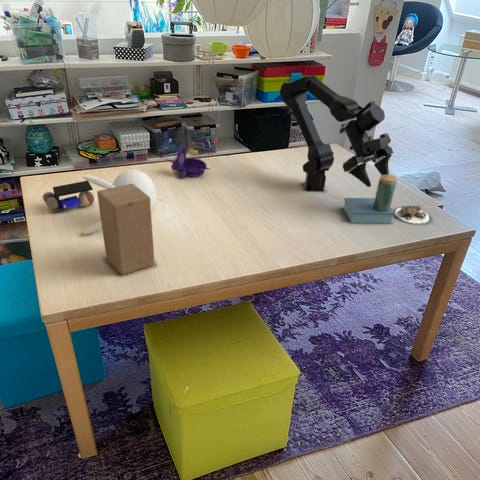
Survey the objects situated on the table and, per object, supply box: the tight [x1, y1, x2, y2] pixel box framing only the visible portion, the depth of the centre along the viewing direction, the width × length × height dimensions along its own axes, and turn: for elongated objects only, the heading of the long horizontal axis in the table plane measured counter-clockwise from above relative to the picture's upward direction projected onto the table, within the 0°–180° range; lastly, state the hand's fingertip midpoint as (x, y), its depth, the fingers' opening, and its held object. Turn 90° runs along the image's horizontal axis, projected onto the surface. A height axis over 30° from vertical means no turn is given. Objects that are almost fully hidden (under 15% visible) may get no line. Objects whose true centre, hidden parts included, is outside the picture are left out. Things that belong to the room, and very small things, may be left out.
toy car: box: [42, 180, 95, 213], centre depth 159 cm, size 7×8×15 cm
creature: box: [163, 139, 211, 179], centre depth 183 cm, size 9×18×12 cm, turn 108°
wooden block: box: [97, 184, 156, 276], centre depth 130 cm, size 10×10×20 cm
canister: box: [373, 174, 397, 212], centre depth 159 cm, size 5×5×10 cm
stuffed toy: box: [81, 169, 163, 236], centre depth 148 cm, size 19×14×25 cm
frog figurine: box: [394, 204, 430, 225], centre depth 166 cm, size 12×12×4 cm
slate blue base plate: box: [343, 197, 395, 224], centre depth 165 cm, size 14×11×4 cm
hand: (378, 183), depth 160 cm, fingers open, 9 cm apart
